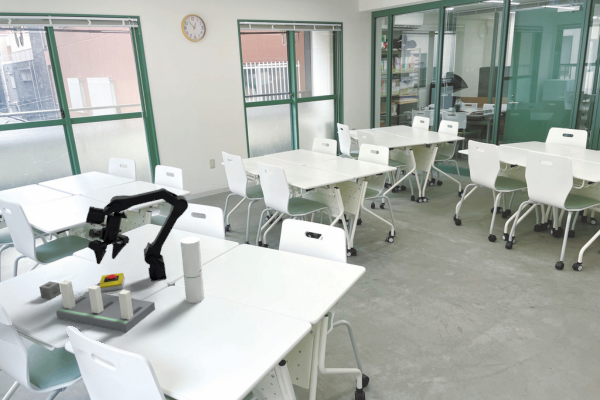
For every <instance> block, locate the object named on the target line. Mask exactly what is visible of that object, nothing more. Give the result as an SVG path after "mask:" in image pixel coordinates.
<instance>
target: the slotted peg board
mask: <svg viewBox="0 0 600 400" xmlns="http://www.w3.org/2000/svg"><path fill="white" fill-rule="evenodd" d="M59 285H60V290H61V294H60V295H61V298H62V304H63V306H62V307H60V308H59V309H57V310H56V311H55V315H56V317H57V319H59V320H64V321H70V322H74V323H80V324H85V325H90V326H93V327H94V326H95V327H100V328H105V329H110V330H113V331H115V330H116V331H119V332H125V333H127V332H129V331H130V330H131V329H133V328H134V327H136V326H137V325H138V324H139V323H140V322H141V321H143V320H144V319H145V318H146V317H147V316H149V315H150V314H151V313H153V312H154V311H155V310H156V305H155V301H150V300H149V301H148V300H144V299H137V298H132V296H131V294H132V293H131V290H126V289H123V290H122V291H121V292H118V295H113V294H102V293H101V295H102V302H103V308H104V310H103V311H102V312H100V313H99V314H98V313H93V312H92V308H91V302H90V296H89V290H88V291H86V292H85V293H83V294H82V295H80V296H78V297H77V298H75V294H74V289H73V283H72V281H69V280H63V281H61V282H59Z"/></svg>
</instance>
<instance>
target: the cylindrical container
mask: <svg viewBox="0 0 600 400" xmlns="http://www.w3.org/2000/svg"><path fill="white" fill-rule="evenodd" d="M180 248H181V250H180V251H181V259H182V271H183V280H184V281H183V284H184V290H185V291H184V292H185V301H186V303H189V304H196V303H197V304H198V303H200V301H201V302H202V301H204V300H205V289H204V278H203V277H204V276H203V274H204V273H203V265H202V263H203V262H202V252H201V240H200V237H197V236H187V237H184V238H182V239H180Z"/></svg>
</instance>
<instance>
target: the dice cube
mask: <svg viewBox="0 0 600 400" xmlns="http://www.w3.org/2000/svg"><path fill="white" fill-rule="evenodd" d="M39 292H40V298H41V299H46V300H51V301H52V300H53V299H55V298H57V297H59V296H61V295H62V294H61V288H60V282H55V281H48V282H46V283H44V284H42V285H41V286H40V285H39ZM56 296H57V297H56Z"/></svg>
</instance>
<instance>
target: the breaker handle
mask: <svg viewBox="0 0 600 400" xmlns="http://www.w3.org/2000/svg"><path fill="white" fill-rule="evenodd" d="M87 290H88V291H89V296H90V302H91V308H92V312H93V313H98V314H99V313H100V312H102V311H103V310H104V308H103V302H102V295H101V289H100V286H99V285H97V284H96V285H94V284H93V285H91V286H90V287H88V288H87Z"/></svg>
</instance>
